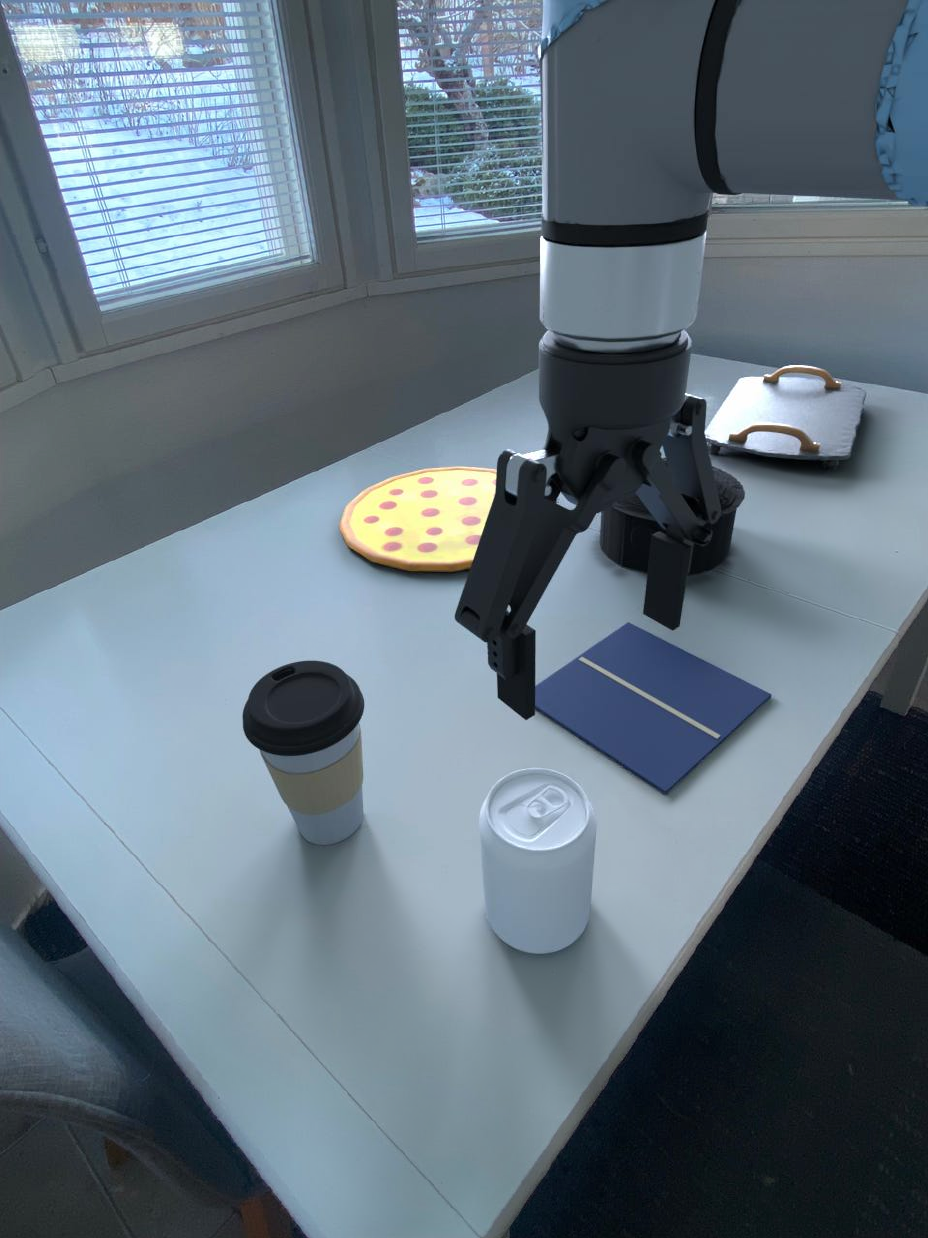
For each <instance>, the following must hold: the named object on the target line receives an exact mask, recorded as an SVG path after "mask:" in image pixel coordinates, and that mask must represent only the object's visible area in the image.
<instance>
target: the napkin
mask: <svg viewBox="0 0 928 1238" xmlns="http://www.w3.org/2000/svg"><path fill="white" fill-rule="evenodd" d="M771 698H772V693H770V692H769V691H766V690H764V689H762V688H760V687H758V686H756V685H754V684H752V683H750V682H748V681H746V680H744V679H743V678H740V677H738V676H736V675H734V674H733V673H731V672H728V671H726V670H725V669H723V668H721V667H719V666H716V665H715V664H712V663H710V662H709V661H707V660H705V659H703V658H700V657H699V656H697V655H695V654H693V653H691V652H689V651H687V650H685V649H683V648H681V647H679V646H677V645H675V644H673V643H671V642H669V641H667V640H666V639H663V638H661V637H659V636H657V635H655V634H653V633H651V632H649V631H648V630H646V629H643V628H641V627H639V626H637V625H636V624H634V623H631V622H630V621H628V622H626V623H624V624H623V625H622V626H620V627H619V628H617V629H616V630H614V631H613V632H611V633H610V634H608V635H607V636H606V637H604V638H603V639H601V640H600V641H599V642H597V643H596V644H594V645H592V646H591V647H590V648H589V649H587V650H585V651H584V652H583V653H581V654H579V655H578V656H577V657H575V658H574V659H572V660H571V661H569V662H568V663H566V664H565V665H563V666H562V667H561V668H559V669H558V670H557V671H555V672H553V673H552V674H551V675H549V676H548V677H546V678H545V679H543V680H542V681H541V682H538V683H537V684H535V710H536V711H538V712H540V713H541V714H542V715H544V716H545V717H547V718H548V719H550V720H552V721H553V722H555V723H557V724H558V725H560V726H561V727H563V728H564V729H565V730H567V731H568V732H570V733H572V734H573V735H575V736H576V737H578V738H579V739H581V740H582V741H584V742H585V743H587V744H588V745H590V746H592V747H593V748H594V749H596V750H598V751H599V752H601V753H602V754H603V755H605V756H606V757H608V758H610V759H611V760H612V761H614V762H615V763H617V764H618V765H620V766H621V767H623V768H625V769H626V770H628V771H629V772H631V773H633V774H634V775H635V776H637V777H638V778H640V779H641V780H643V781H644V782H646V783H647V784H649V785H650V786H652V787H653V788H655V789H656V790H658V791H659V792H661V793H662V794H664V795H667V794H668V793H669V792H670V791H672V789H673V788H674V787H676V785H678V784H679V783H680V782H681V781H682V780H683V779H684V778H685V777H686V776H687V775H689V773H691V772H692V771H693V770H694V769H695V768H696V767H697V766H698V765H699V764H700V763H701V762H702V761H703V760H705V759H706V758H707V757H708V756H709V755H710V754H712V752H713V751H715V750H716V749H717V748H718V747H719V746H720V745H721V744H722V743H723V742H724V741H725V740H727V738H729V737H730V736H731V735H732V734H733V732H735V731H736V730H737V729H739V728H740V727H741V725H743V724H744V723H745V722H746V721H747V720H748V719H749V718H750V717H751V716H752V715H754V713H756V712H757V711H758V710H759V709H760V708H761V707H763V705H764V704H765V703H767V702H768V700H769V699H771Z"/></svg>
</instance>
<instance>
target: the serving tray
mask: <svg viewBox="0 0 928 1238" xmlns="http://www.w3.org/2000/svg"><path fill="white" fill-rule="evenodd" d="M785 374H806V375H813V376H817V377H819V378H821V379H815V378H805V377H793V376H782V375H785ZM822 379H823V380H822ZM866 397H867V391H866V389H864V388H861V387H858V386H855V385H847V384H843V382H842V381H837V380H835V379H834V378H833V376H832V375H831V373H829V371H827V370H825V369H823V368H821V367H816V366H811V365H801V364H800V365H797V364H796V365H787V366H783V367H781V368H779V369H777V370H776V371H775V372H773V373H771V374H764V376H745V377H741V378H739V379H738V380H737V382H736V383H735V385H734V386H733V388H732V390H730V392H729V393H728V395H727V397H726V398H725V399H724V401H723V403H722V404H721V405H720V407H719V408H718V411H717V412H716V413H715V415H714V416H713V417H712V419H711V421H710V422H709V424H708V426H706V428H705V436H706V441H707V446H708V450H709V455H713V456H714V455H718V453H720V451H721V449H722V448H725V449H729V450H732V451H736V452H740V453H747V454H752V455H753V454H754V455H758V456H762V457H769V458H776V459H777V458H779V459H792V460H803V461H822V462H823V468H824V470H825V471H827V472H834V471H835V470H836V469H838V466H839V464H840V463H839V461H841V460H842V461H843V460H844V461H845V460H848V459H849V458H850V457H851V454H852V450H853V447H854V444H855V443H854V442H855V440H856V439H857V429H858V427H859V426H860V424H861V421H862V420H861V419H862V415H863V412H864V411H865V407H864V404H865V401H866Z"/></svg>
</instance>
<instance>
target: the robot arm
mask: <svg viewBox="0 0 928 1238" xmlns="http://www.w3.org/2000/svg"><path fill="white" fill-rule="evenodd" d="M542 5H543V6H542V21H541V22H542V23H541V24H542V25H541V41H540V42H539V45H538V47H537V59H536V60H537V61H536V62H537V63H538V65H537V66H538V67H539V80H540V81H539V84H540V85H539V86H540V88H539V89H540V119H541V121H540V123H541V124H540V125H541V126H540V127H541V182H542V183H541V190H542V191H541V192H542V196H541V197H542V199H541V201H542V203H541V205H542V206H541V207H542V213H541V215H540V218H541V219H540V220H541V221H540V237H539V238H540V244H539V245H540V246H539V263H540V264H539V321H540V323H541V324H542V325H543V326H544V327H545V329H546V330H547V331H546V332H545V333H544V335H543V336H542V338H541V339H540V340H539V343H538V402H539V405H540V407H541V409H542V412H543V414H544V417H545V419H546V422H547V434H546V438H545V440H544V444H543V447H542V449H541V450H538V451H535V452H530V453H526V454H525V453H524V454H521V453H519V452H517V451H516V450H513V449H510V448H509V449H505V450H503V451H502V452H501V453H500V454H499V456H498V458H497V461H496V470H497V473H496V489H495V496H494V499H493V502H492V505H491V508H490V511H489V514H488V517H487V520H486V523H485V526H484V529H483V532H482V535H481V538H480V541H479V544H478V547H477V550H476V553H475V556H474V559H473V562H472V565H471V568H470V569H469V571H468V574H467V576H466V580H465V583H464V586H463V589H462V591H461V594H460V598H459V601H458V604H457V607H456V609H455V613H454V621H455V622H456V623H458V624H459V625H460V626H462V627H463V628H464V629H466V630H467V631H469V632H470V633H471V634H473V635H474V636H475V637H476V638H478V639H479V640H481V641H482V642H483V643H486V648H487V649H486V650H487V664H488V667H490V669H491V671H493V672H495V673H496V688H497V689H496V690H497V691H496V692H497V699H498V700H500V701H501V702H502V703H503V704H504V705H506V706H507V707H509V708H510V709H511V710H512V711H513V712H514V713H516V714H517V715H519V716H520V717H521V718H522V719H523V720H525V721H527V720H529V719H531V718H532V717H534V716H535V715H536V709H535V686H536V653H537V652H536V648H537V647H536V643H537V642H536V639H537V638H536V635H537V633H536V632H537V631H536V629H534V628H533V627H531V625H528V623H529V621H530V619H531V617H532V615H533V613H534V612H535V610H536V608H537V607H538V604H539V602H540V601H541V599H542V597H543V596H544V593H545V592H546V590H547V588H548V586H549V585H550V583H551V581H552V579H553V577H554V575H555V574H556V572H557V570H558V568H559V567H560V564H561V563H562V562H563V559H564V557H565V556H566V554H567V552H568V550H569V549H570V547H571V545H572V543H573V541H574V539H575V538H576V536H577V535H578V534H580V533H583V532H586V531H588V529H589V527H590V526H591V524H592V522H594V521H593V520H594V519H595V517H596V515H597V514H599V513H600V514H601V512H602V511H604V510H606V509H608V508H609V507H610V506H612V505H613V504H614V503H616V502H617V501H622V500H628V499H630V498H632V497H634V496H636V494H637V496H638V497H639V498H640V499H641V501H642V502H643V503H644V505H645V506H646V507H647V509H648V510H649V511H650V513H651V514H652V515H653V516H654V518H655V519H656V520H657V522H658V523H659V524H660V526H661V527H662V528H663V529H665V530H667V532H666V534H664V533H662V532H657V533H655V534H653V535H652V536H651V545H650V554H649V563H648V572H647V573H646V582H645V590H644V599H643V607H642V608H643V609H642V615H644V616H646V617H647V618H649V619H651V620H652V621H654V622H656V623H658V624H659V625H661V626H663V627H665V628H667V629H669V630H670V631H672V632H673V631H675V630H676V629H678V628H680V627H681V621H682V613H683V607H684V600H685V594H686V593H685V592H686V588H687V582H688V577H689V576H688V573H689V571H690V565H691V563H690V562H691V557H692V552H693V545H694V543H696V544H698V545H700V546H705V545H707V544H708V543H709V541H710V539H711V537H712V530H710V529H708V528H706V527H704V526H703V525H704V524H705V523H707V522H708V523H710V524H714V523H715V522H717V520H718V519H719V518H720V515H721V506H720V501H719V497H718V492H717V487H716V483H715V478H714V473H713V469H712V466H713V464H712V460H711V454H709V450H708V442H707V441H706V436H705V430H706V422H707V421H706V420H707V419H706V418H707V407H708V406H707V401H706V399H705V398H703V397H699V396H696V395H691V394H689V393H687V386H688V379H689V371H690V363H691V357H692V356H691V355H692V347H693V341H692V338H691V337H690V336H689V334H688V333H687V331H686V329H688V328H689V327H690V326H692V325H693V324H694V323H695V321H696V319H697V318H698V309H699V302H700V301H699V300H700V294H701V293H700V292H701V284H702V275H703V267H704V266H703V265H704V257H705V248H706V241H707V240H706V239H707V229H708V228H707V227H708V220H709V219H708V218H709V211H710V209H709V208H710V205H711V204H710V203H711V199H712V195H713V194H717V195H721V196H722V195H725V196H739V195H743V194H750V195H751V194H752V195H754V194H755V195H775V196H776V195H777V196H797V197H816V198H817V197H818V198H839V199H863V200H883V201H901V202H903V201H904V202H905V201H906V202H907V204H908V205H909V206H913V207H925V208H928V0H543V4H542ZM662 448H663V453H664V458H666V460H667V464H668V467H667V465H666V463H665V462H664V460H663V459H662V458H663V457H662V456H663V454H662V451H661V449H662ZM560 494H562V496H563V497H564V498H565V500H566V501H568V502H569V503H571V504H572V505H575V507H574V508H573V509H569V508H567V507H566V506H563V505H561V504H559V503H557V500H558V498H559V496H560ZM508 608H510V610H508Z"/></svg>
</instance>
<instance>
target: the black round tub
mask: <svg viewBox="0 0 928 1238" xmlns="http://www.w3.org/2000/svg"><path fill="white" fill-rule="evenodd" d="M662 459H663V460H664V462H665V463H666V465H667V467H668V464H667V460H666V457H662ZM712 469H713V473H714V478H715V483H716V487H717V492H718V497H719V501H720V506H721V515H720V518H719V519H718V520H717V522H715V523H714V524H710V523H708V522H707V523H705V524H704V525H703V526H704V527H706V528H708V529H710V530H712V537H711V539H710V541H709V543H708V544H707V545H705V546H700V545H698V544H696V543H694V545H693V552H692V557H691V562H690V563H691V565H690V571H689V573H688V576H687V577H690V576H696V575H700V574H703V573H706V572H709V571H711V570H713V569H715V568H717V567H718V566H720V565H721V564H722V563H723V562H724V561H725V560H726V558H727V557H728V555H729V554H730V549H731V543H732V538H733V533H734V527H735V522H736V516H737V515H736V514H737V509H738V508H739V507H740V506H741V505H742V503H743V501H744V500H745V496H746V492H745V489H744V486H743V484H742V483H741V481H739V480H738V479H737V478H736V477H735V476H733V475H732V474H731V473H728V472H727V471H725V470H723V469H721V468H718V467H715V466H713V465H712ZM599 528H600V529H599V546H600V549H601V551H602V552H603V553H604V554H605V556H606V557H607V558H608V559H609V560H611V561H612V562H614V563H615V564H617V565H619V566H620V567H621V568H625V569H629V570H633V571H637V572H642V573H645V574H647V572H648V563H649V554H650V545H651V536H652V535H653V534H655V533H657V532H662V533H664V534H666V532H667V530H665V529H663V528H662V527H661V526H660V524H659V523H658V522H657V520H656V519H655V518H654V516H653V515H652V514H651V513H650V511H649V510H648V509H647V507H646V506H645V505H644V503H643V502H642V501H641V499H640V498H639V497H638V496H637V494H636V496H634V497H632V498H630V499H628V500H622V501H617V502H616V503H614V504H613V505H612V506H610V507H609V508H608V509H606V510H604V511H602V512H600V527H599Z"/></svg>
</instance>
